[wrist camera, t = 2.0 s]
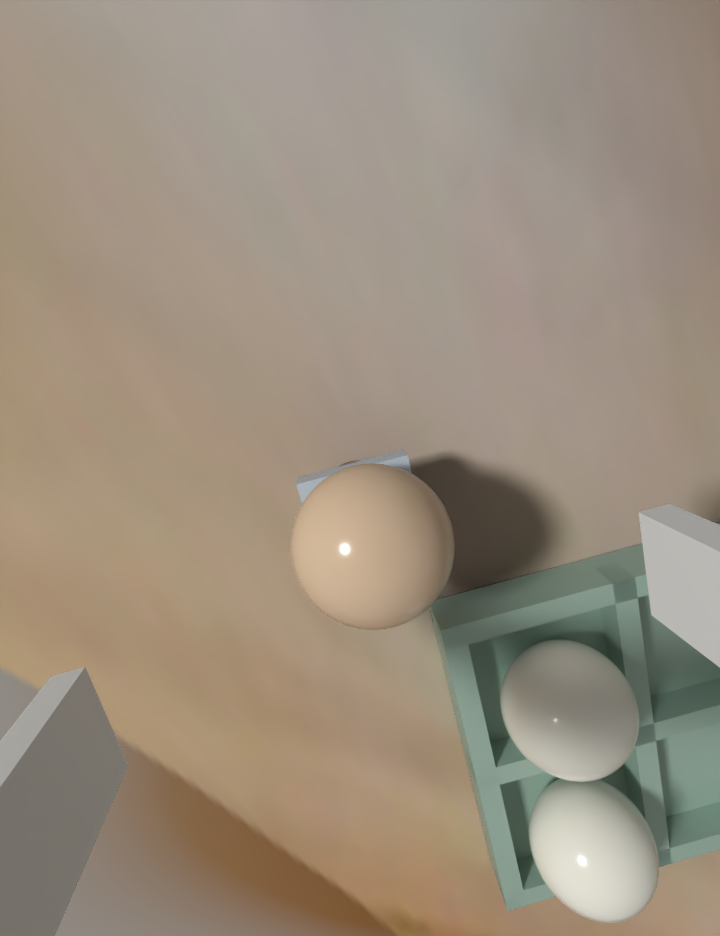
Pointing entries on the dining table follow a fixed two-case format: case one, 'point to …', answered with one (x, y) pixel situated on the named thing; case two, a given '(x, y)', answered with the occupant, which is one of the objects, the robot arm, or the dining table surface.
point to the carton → (647, 671)
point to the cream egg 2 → (594, 849)
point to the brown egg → (372, 546)
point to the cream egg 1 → (569, 710)
